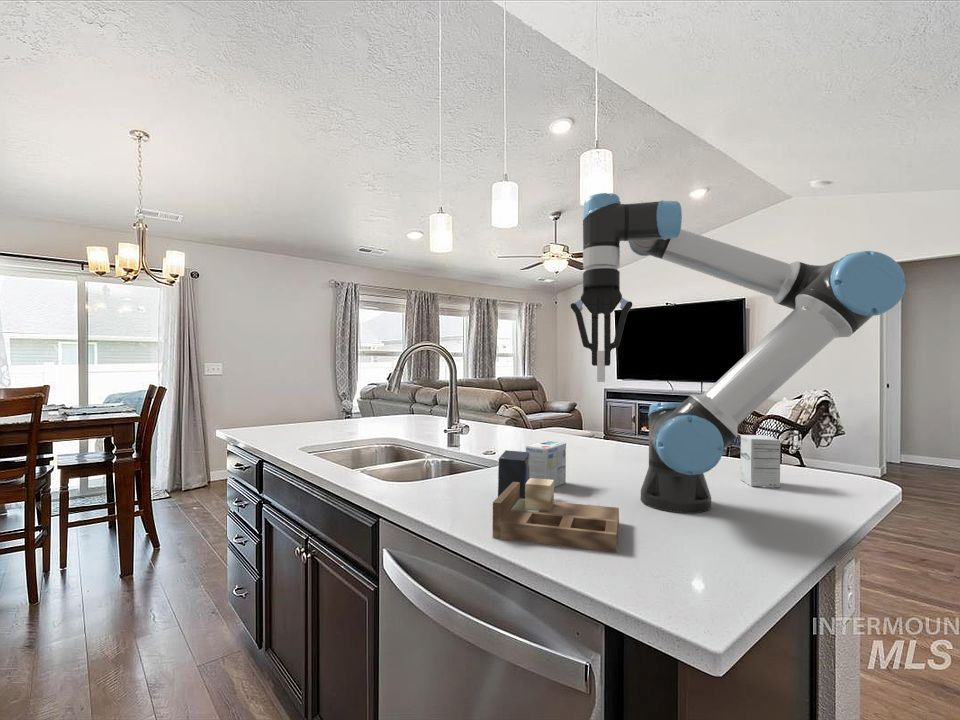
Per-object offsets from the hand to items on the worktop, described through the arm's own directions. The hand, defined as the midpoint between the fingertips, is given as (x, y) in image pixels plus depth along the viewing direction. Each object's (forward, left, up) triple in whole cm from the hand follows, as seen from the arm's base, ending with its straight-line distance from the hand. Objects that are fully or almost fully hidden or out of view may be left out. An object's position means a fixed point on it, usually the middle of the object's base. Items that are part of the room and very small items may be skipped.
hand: (601, 381), depth 104 cm
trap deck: (+7, +12, -28) cm, 31 cm away
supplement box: (-39, -40, -29) cm, 63 cm away
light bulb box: (+15, -21, -29) cm, 39 cm away
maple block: (+12, +8, -25) cm, 29 cm away
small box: (+20, -6, -29) cm, 35 cm away
